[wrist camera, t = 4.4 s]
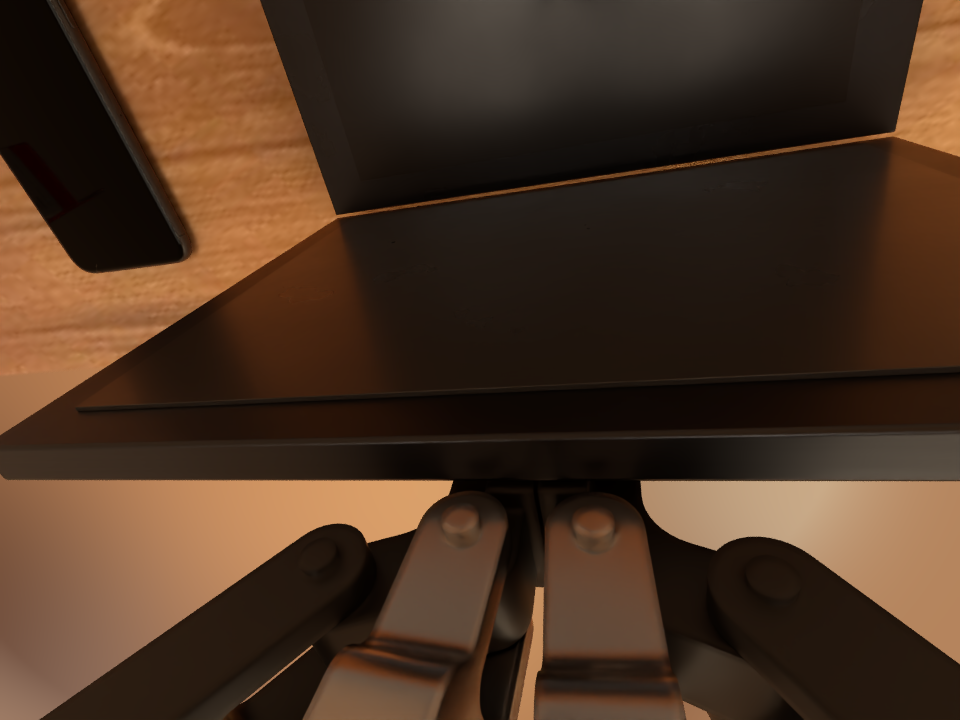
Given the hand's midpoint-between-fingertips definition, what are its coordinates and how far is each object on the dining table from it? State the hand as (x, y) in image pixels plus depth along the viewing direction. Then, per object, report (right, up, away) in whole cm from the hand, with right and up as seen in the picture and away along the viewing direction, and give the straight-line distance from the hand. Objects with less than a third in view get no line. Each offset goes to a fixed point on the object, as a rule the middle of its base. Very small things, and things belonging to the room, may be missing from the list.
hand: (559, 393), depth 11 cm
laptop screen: (0, +4, +2) cm, 4 cm away
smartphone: (-21, +12, +13) cm, 27 cm away
